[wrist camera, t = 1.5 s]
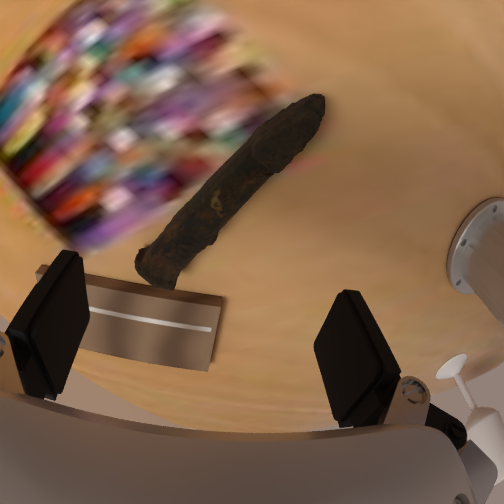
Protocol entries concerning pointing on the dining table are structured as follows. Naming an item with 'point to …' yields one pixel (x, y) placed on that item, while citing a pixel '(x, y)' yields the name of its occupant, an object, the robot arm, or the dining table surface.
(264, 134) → the hand tool
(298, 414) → the dining table surface
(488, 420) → the champagne flute
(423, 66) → the dining table surface
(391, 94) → the dining table surface
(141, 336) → the board
